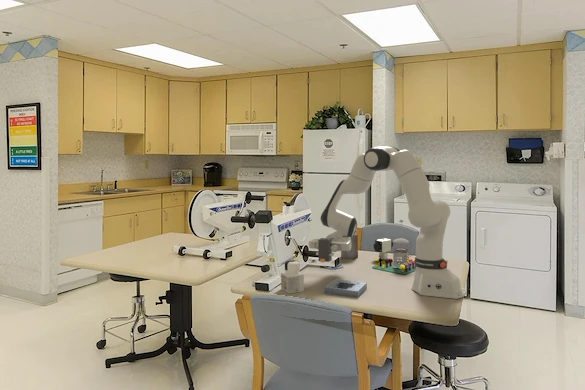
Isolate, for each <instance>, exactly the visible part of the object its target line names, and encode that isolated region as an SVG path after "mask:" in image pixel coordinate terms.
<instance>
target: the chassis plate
mask: <svg viewBox="0 0 585 390" xmlns="http://www.w3.org/2000/svg"><path fill="white" fill-rule="evenodd" d="M367 287H368V282H364V281H356V280H346V279H339V278H336V279H335V278H334V279H333V280H332V281H330V282H329V283H328V284H326V285H325V286H324V287H323V294H329V295H337V296H345V297H346V296H347V297H354V298H355V297H356V298H358V297H360V295H362V294H363V293H364V291H366V290H367Z"/></svg>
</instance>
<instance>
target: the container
mask: <svg viewBox="0 0 585 390" xmlns="http://www.w3.org/2000/svg"><path fill="white" fill-rule="evenodd" d="M300 263H301V262H299V261H298V260H295V259H294V260H291V259H290V260H286V261H285V262H284V271H281V273H280V275H281V277H280V283H281V285H280V287H281V290H282V291H284V292H285V293H287V294H294V293H301V292H302V293H303V292H304V291H305V284H304V283H305V282H304V281H305V278H304V277H305V276H304V275H305V274H304V273H302V272H301V269H300V268H301V267H300V266H301V265H300Z"/></svg>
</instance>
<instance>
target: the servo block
mask: <svg viewBox="0 0 585 390" xmlns="http://www.w3.org/2000/svg"><path fill="white" fill-rule="evenodd" d="M318 239H319V240H318V249H317V251H316V253H315V255H316V256H318V262H320V263H326V262H327V263H330V262H331V261H332V258H333V256H335V252H332V250H330V246H332V239H328V238H326V237H325V238H323V237H321V238H318Z"/></svg>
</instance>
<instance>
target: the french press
mask: <svg viewBox="0 0 585 390" xmlns="http://www.w3.org/2000/svg"><path fill="white" fill-rule="evenodd" d="M398 222H399V223H400V227H402V223H404V220H403V219H400V220H399V221H398ZM392 242H393V244H394V243H395V244H399V245H407V247H409V246H410V248H411V249H410V250H411V251H410V253H409V251H408V250H409V249H408V248H407V247H402V246H399V247H394V249H393V250H394V251H393V254H392V255H393V256H392V260H393V262H392V265H393V266H396V267H400V266H399V265H401V264H404V263H406V262H408V261H410V260H409V258H411V257H412V256H413V254H414V252H413V249H414V247H413V245H412V244H410V243H409V242H410V241H409V240H407V239H406V238H403V237H400V238H399V237H398V238H395V239H394V240H392ZM398 263H400V264H398Z"/></svg>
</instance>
